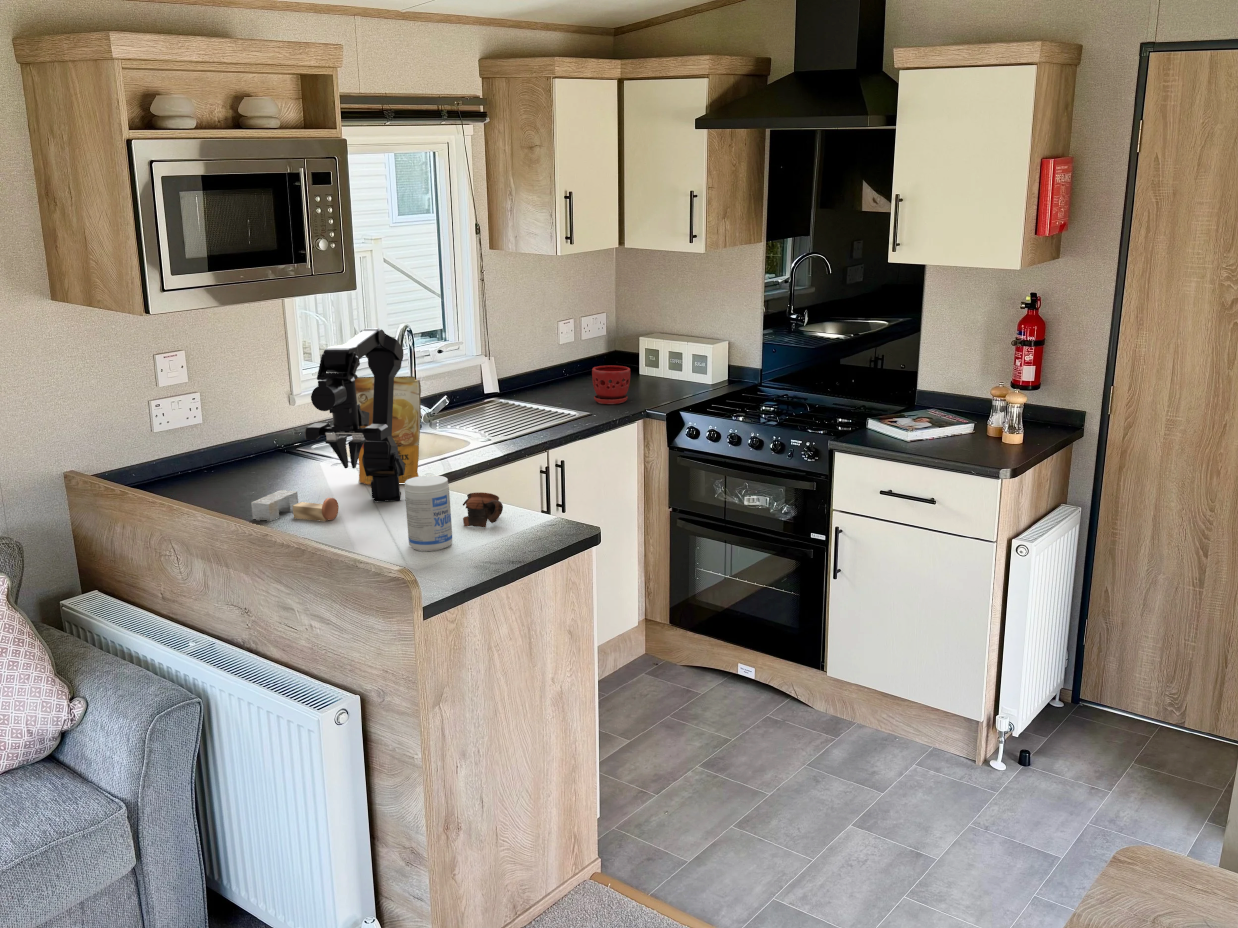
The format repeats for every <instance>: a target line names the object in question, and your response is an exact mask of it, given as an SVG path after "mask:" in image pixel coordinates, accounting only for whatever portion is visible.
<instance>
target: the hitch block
mask: <svg viewBox="0 0 1238 928" xmlns="http://www.w3.org/2000/svg"><path fill="white" fill-rule="evenodd" d="M298 503H299V496H298V491H294V490H283V489H282V490H277V491H275V492H273V493H270V494H267V495H265V496H263V497H261V498H259V499H256V500H254V501H251V502H250V504H251V505H250V506H251V512H252V520H253V519H256V520H255V521H260V520H267V521H266V522H270V521H271V522H273V521H275V520H277V519H279V518H280V514H279V513H280V512H283V513H284V512H285V513H293V505H295V504H298ZM278 517H279V518H278ZM276 518H277V519H276ZM274 519H275V520H274ZM272 520H273V521H272Z"/></svg>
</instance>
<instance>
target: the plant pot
mask: <svg viewBox="0 0 1238 928" xmlns="http://www.w3.org/2000/svg"><path fill="white" fill-rule="evenodd" d="M591 375H592V376H591V377H592V379H591V381H592V385H593V389H594V392H595V394H596V395H594V396H593V399H594V401H595V402H596V403H598V404H599V405H600V404H601V405H619V404H623V403H625V402H626V401H627V400H628V395H627V393H628V391H629V387H630V383H631V368H630V367H627V366H625V365H624V366H623V365H599V366H594V367H592V369H591Z"/></svg>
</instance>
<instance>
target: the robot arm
mask: <svg viewBox="0 0 1238 928" xmlns="http://www.w3.org/2000/svg"><path fill="white" fill-rule="evenodd" d="M364 356H365V358H367V366H368V368H369V370H370V372H371V373H372V375H373V377H374V395H373V421H372V424H371V425H369V412H366V411H361V409H360V404H357V397H356V386H355V379H357V378H358V375H357V374H356V373H357V369H358V368H359V366H360V364H361V362H360V359H362V358H364ZM403 358H404V348H403V346H402V345H401V343H400V342H399V341H398V340H397V339H396V338H394V337H393V336H390V335H389V334H388V333H387V334H386V332H385V330H383V329H382V328H379V327H378V328H377V327H375V328H374V327H373V328H363V329H361V330H360V331H359V333H358V334H356V335H354V336H353V337H352V338H349V340H347V341H346V342H345V343H344V344H339V345H332V346H328V347H326V348H325V349H324V350H323V352H322V354H321V357H320V361H319V367H318V370H317V376H316V380H317V385H318V386H316V387H315V388H313V390H312V392H311V395H310V400H311V403H312V405H313V406H314V407H315V409H316V410H319V411H321V412H327V411H329V414H332V423H333V425H330V423H329V422H314V423H313V424H311V425H308V426H306V428H304V433H303V434H304V439H305V440H306V441H308V440H309V441H316V440H318V439H319V438H320V437H321V436H326V440H325V441H324V442H325V444H328V445H329V446H330V447H331V449H332V450H333V452H334V453H335V454H336V456H337V458H338V459H339V461H340V463H341V464H342V466H343V468H344V469H347V468H349V458H350V464H351V469H353V470H354V469H356V468H357V464H358V462H359V459H358V457H359V453H360V450H361V447H362V445H363V443H364V442H365V443H364V453H363V457H362V462H363V466H364V470H365V473H366V476H373V480H371V485H370V490H371V491H370V492H371V498H372V499H373V503H380V502H395V501H401V497H402V492H401V487H400V486H401V485H400V484H399V476H402V475H404V473H405V463H404V462H403V460H402V459H401V457H400V456H399V454H398V446H397V445H396V443H395V441H394V439H393V437H392V416H393V390H394V377H397V374H398V373H399V371H400V370H401V368H402V362H403ZM363 425H364V426H368V427H366V428H359V427H360V426H363ZM348 437H352V439H351V440H350V441H348V442H347V438H348ZM347 443H348V449H349V450H348V451H349V457H348V451H347Z"/></svg>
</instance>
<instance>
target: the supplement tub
mask: <svg viewBox="0 0 1238 928" xmlns="http://www.w3.org/2000/svg"><path fill="white" fill-rule="evenodd" d="M418 476H419V477H414V478H410V479H408V480H406V481H405V485H404V501H405V512H406V523H407V537H408V545H409V547H410V548H411V549H413V550H415V551H418V552H419V551H420V552H421V551H423V552H431V551H432V552H433V551H438V550H443V549H446V548H448V547H449V546H451V545H452V543H453V524H452V512H451V509H452V508H451V498H450V497H451V495H450V485H449V479H448V478H447V477H445V476H442V475H435V474H431V475H430V474H429V475H428V474H427V475H418Z"/></svg>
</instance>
